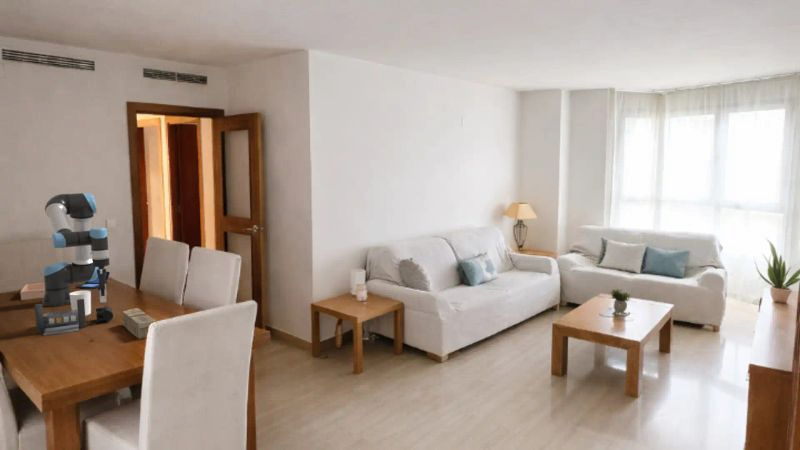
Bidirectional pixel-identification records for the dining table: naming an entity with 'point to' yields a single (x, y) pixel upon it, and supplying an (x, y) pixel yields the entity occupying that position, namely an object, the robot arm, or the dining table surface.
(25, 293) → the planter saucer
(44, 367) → the dining table surface
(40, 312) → the post
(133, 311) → the block tower
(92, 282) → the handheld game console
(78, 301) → the post
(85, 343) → the dining table surface
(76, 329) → the mat
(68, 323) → the breaker panel
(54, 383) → the dining table surface
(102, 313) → the black rounded block
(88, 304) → the candle holder
